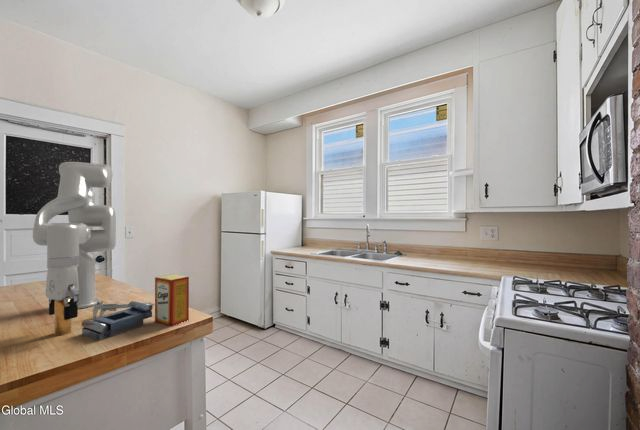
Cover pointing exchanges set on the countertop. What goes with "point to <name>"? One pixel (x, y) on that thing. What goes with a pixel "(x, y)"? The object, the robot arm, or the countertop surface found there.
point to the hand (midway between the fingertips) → (63, 316)
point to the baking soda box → (171, 299)
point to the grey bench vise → (117, 321)
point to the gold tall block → (61, 319)
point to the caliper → (109, 307)
